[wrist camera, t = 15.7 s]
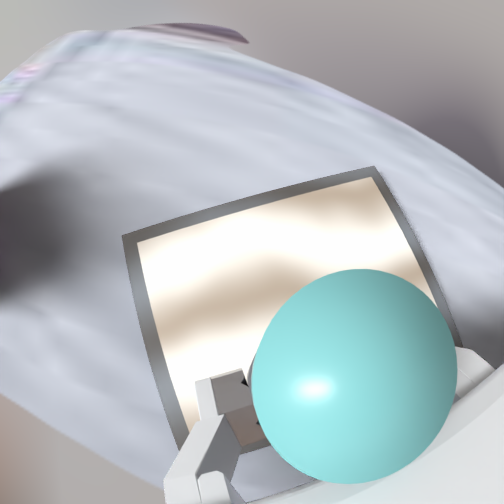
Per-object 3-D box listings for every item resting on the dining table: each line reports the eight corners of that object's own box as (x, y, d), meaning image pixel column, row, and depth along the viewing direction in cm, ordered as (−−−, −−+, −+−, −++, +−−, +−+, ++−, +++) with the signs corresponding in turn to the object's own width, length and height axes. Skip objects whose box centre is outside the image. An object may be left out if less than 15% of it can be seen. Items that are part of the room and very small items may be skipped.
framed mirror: (455, 349, 18) (465, 347, 17) (188, 463, 15) (185, 468, 14) (370, 173, 23) (375, 164, 22) (126, 241, 21) (120, 234, 19)
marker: (313, 395, 16) (477, 416, 4) (258, 416, 15) (297, 516, 3) (293, 342, 17) (411, 242, 5) (238, 361, 16) (220, 310, 4)
